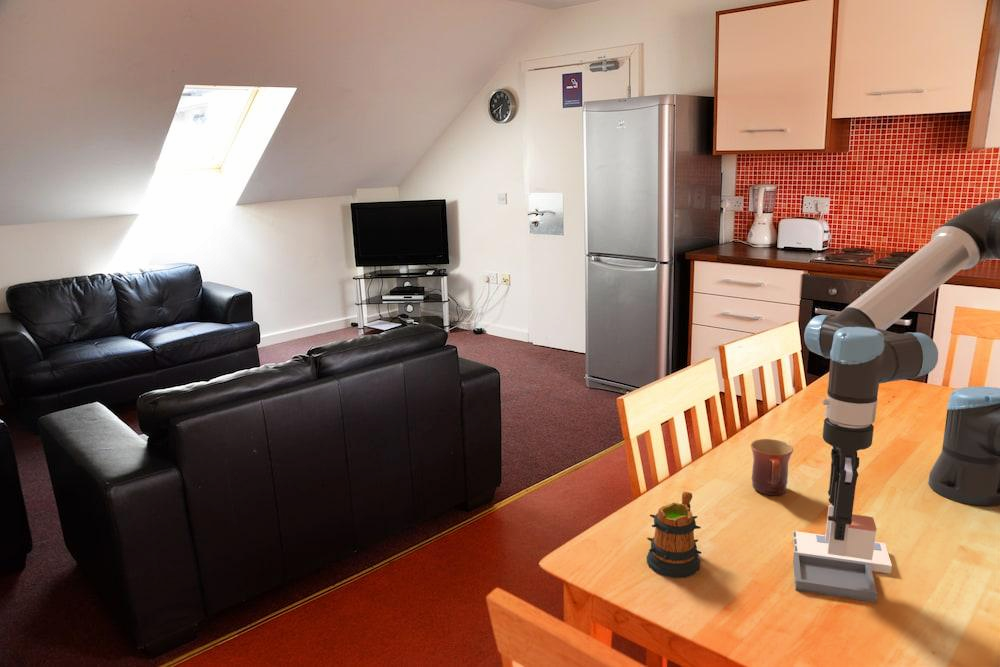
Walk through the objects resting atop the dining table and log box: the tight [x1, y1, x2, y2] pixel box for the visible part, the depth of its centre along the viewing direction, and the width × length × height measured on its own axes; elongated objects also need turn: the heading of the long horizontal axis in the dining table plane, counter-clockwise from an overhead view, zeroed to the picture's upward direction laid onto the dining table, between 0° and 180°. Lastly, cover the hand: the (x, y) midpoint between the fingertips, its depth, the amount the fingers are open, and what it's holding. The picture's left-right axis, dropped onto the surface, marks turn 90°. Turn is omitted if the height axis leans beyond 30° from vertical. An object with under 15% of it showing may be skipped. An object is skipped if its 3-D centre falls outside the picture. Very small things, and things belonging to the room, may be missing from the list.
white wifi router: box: [792, 530, 893, 575], centre depth 139 cm, size 16×8×2 cm, turn 71°
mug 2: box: [750, 438, 794, 496], centre depth 162 cm, size 12×9×10 cm
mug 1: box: [646, 491, 702, 579], centre depth 137 cm, size 13×10×12 cm
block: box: [845, 513, 877, 560], centre depth 128 cm, size 6×4×6 cm, turn 72°
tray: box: [792, 551, 878, 603], centre depth 131 cm, size 13×10×2 cm
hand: (834, 546), depth 129 cm, fingers closed on block, 4 cm apart
